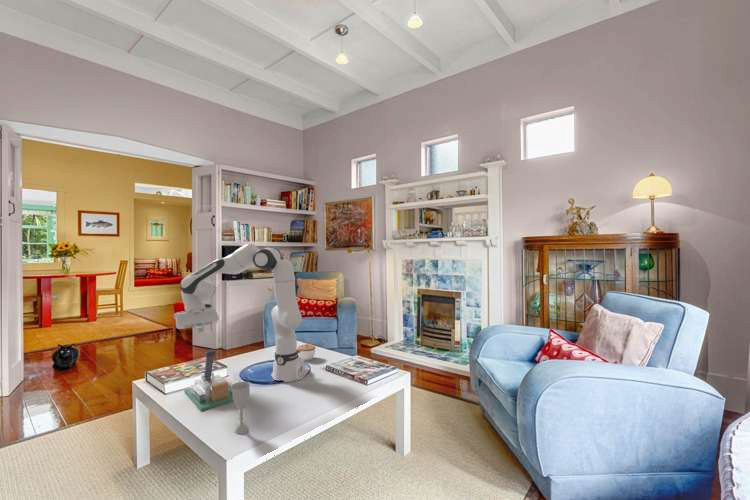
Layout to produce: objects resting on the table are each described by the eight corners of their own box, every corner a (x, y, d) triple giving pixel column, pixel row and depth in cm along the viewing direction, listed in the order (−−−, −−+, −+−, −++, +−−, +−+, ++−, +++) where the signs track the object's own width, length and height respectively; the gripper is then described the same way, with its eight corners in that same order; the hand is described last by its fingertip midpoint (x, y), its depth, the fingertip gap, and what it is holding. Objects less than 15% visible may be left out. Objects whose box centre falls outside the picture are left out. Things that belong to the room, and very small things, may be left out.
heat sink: (190, 392, 170) (189, 377, 170) (223, 383, 181) (222, 369, 180) (200, 403, 158) (200, 387, 158) (234, 393, 169) (234, 378, 169)
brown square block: (210, 401, 161) (210, 385, 161) (226, 396, 166) (226, 381, 165) (212, 402, 159) (211, 386, 159) (228, 398, 164) (227, 382, 164)
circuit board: (184, 392, 173) (184, 389, 173) (222, 382, 185) (222, 380, 185) (200, 411, 154) (200, 408, 154) (241, 398, 166) (241, 396, 166)
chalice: (234, 437, 133) (234, 390, 133) (229, 430, 139) (228, 384, 138) (254, 430, 138) (253, 385, 138) (247, 423, 143) (247, 380, 143)
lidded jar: (310, 355, 229) (309, 340, 229) (318, 359, 221) (318, 344, 220) (294, 358, 222) (294, 343, 222) (303, 363, 214) (303, 347, 213)
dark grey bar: (203, 379, 173) (202, 377, 174) (212, 377, 176) (210, 375, 177) (206, 352, 169) (205, 350, 170) (215, 350, 171) (214, 348, 172)
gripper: (173, 309, 179) (179, 332, 173) (215, 304, 193) (222, 325, 186) (171, 316, 183) (177, 339, 176) (213, 311, 197) (219, 332, 190)
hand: (200, 332), depth 181 cm, fingers closed
